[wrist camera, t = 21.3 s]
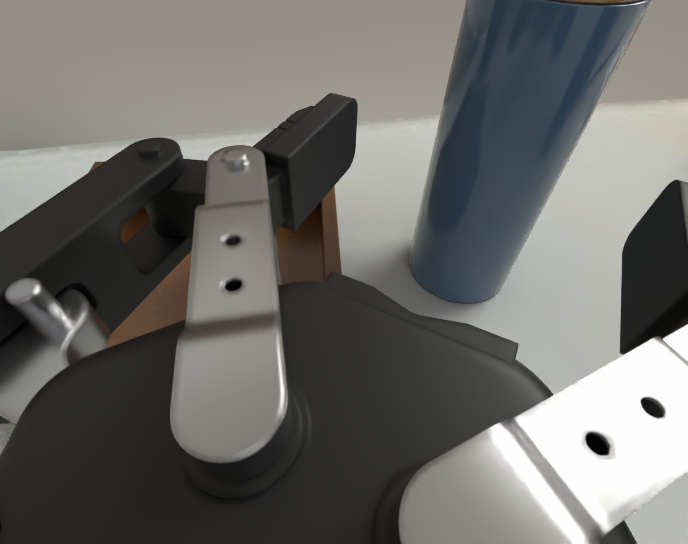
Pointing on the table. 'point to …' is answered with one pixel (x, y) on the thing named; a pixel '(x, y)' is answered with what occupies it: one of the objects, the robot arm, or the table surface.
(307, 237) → the wooden box
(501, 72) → the canister
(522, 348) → the table surface
